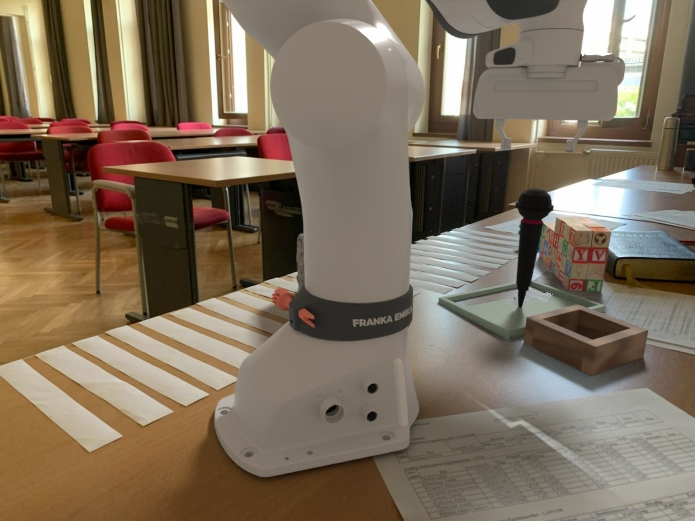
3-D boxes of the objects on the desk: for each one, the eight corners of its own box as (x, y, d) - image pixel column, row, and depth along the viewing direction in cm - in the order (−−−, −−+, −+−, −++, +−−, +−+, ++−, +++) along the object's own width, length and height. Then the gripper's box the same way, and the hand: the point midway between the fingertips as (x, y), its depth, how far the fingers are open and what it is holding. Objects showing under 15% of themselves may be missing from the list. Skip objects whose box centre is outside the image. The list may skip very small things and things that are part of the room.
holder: (591, 375, 65) (595, 346, 64) (523, 343, 74) (526, 317, 73) (643, 357, 70) (648, 330, 69) (574, 328, 79) (577, 304, 78)
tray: (508, 341, 75) (509, 331, 74) (438, 306, 88) (438, 297, 88) (604, 314, 85) (606, 305, 85) (528, 287, 99) (529, 279, 98)
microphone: (542, 306, 87) (560, 188, 81) (530, 316, 83) (548, 192, 77) (510, 298, 90) (525, 184, 85) (497, 307, 86) (513, 188, 80)
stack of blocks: (537, 262, 116) (543, 208, 112) (566, 263, 115) (573, 209, 112) (567, 294, 95) (575, 229, 92) (602, 295, 95) (612, 230, 91)
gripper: (625, 55, 75) (610, 152, 79) (481, 58, 82) (474, 147, 86) (630, 50, 69) (613, 155, 73) (475, 54, 76) (468, 149, 80)
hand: (537, 150), depth 79 cm, fingers open, 8 cm apart
